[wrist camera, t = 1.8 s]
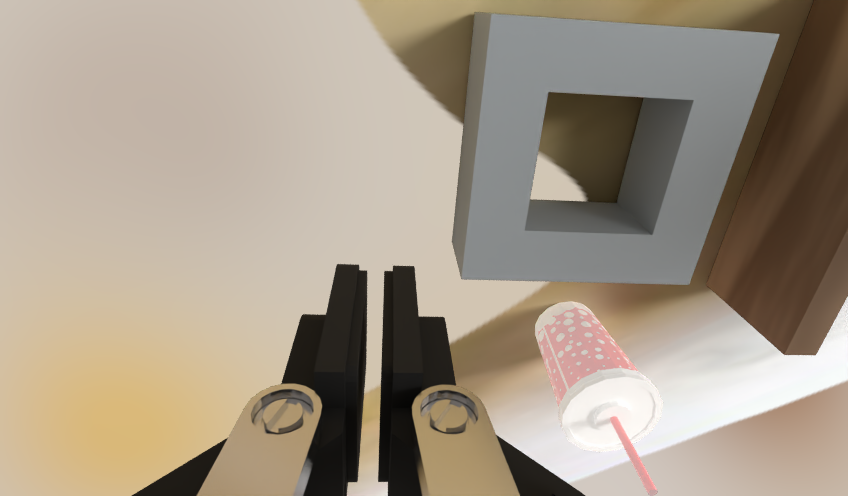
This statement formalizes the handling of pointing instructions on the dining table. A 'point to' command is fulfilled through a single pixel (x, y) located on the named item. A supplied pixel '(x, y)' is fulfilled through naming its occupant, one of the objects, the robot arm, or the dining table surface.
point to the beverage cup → (596, 384)
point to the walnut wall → (796, 199)
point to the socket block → (648, 159)
